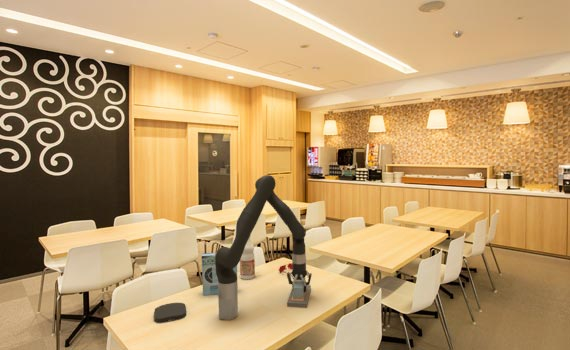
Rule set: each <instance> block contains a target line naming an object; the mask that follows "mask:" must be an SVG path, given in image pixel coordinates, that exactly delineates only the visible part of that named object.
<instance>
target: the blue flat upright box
mask: <svg viewBox="0 0 570 350" xmlns="http://www.w3.org/2000/svg"><path fill="white" fill-rule="evenodd" d="M216 253H217V252H210V253H207V252H205V253H203V252H202V253H201V273H202V274H201V275H202V276H201V277H202V278H201V279H202V296H210V295H211V296H212V295H218V278H217V275H216V266H215V256H216ZM233 270H234V271H235V273H236V274H237V275H238V265H237V266H236V267H235V268H233ZM238 284H239V283H238V282H237V294H238V292H239V291H238V290H239V289H238V288H239V287H238V286H239V285H238Z"/></svg>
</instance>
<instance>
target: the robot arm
mask: <svg viewBox="0 0 570 350" xmlns="http://www.w3.org/2000/svg"><path fill="white" fill-rule="evenodd" d="M276 182H277V181H276V179H275V177H274V176H272V175H271V174H266V175H263V176H261V177H259V178H258V179H257V180H256V181H255V184H254V186H255V192H254V194H253V196H252V198H250V200H249V201H248V202H247V204H246V205H245V207H243V209H242V211H241V213H240V215H239V216H238V219H237V220H236V228H235V236H234V237H235V238H234V240H233V242H232V244H231V246H230V247H227V246H221V247H220V248H218V249H217V251H216V252H215V253H216V256H215V266H216V275H217V278H218V294H217V296H218V297H217V298H218V299H217V300H218V320H225V321H226V320H228V321H231V320H232V319H233V320H234V319H235V318H237V316H238V315H239V306H238V301H239V299H238V293H237V283H238V273H237V274H236V273H235V271H234V270H233V268H235V267H236V266H237V267H238V265H239V264H240V259H241V256H242V254H243V251H244V248H245V246H246V243H247V241H248V239H249V237H250V235H251V236H252V232H253V230H254V228H255V226H256V225H257V223H258V221H259V218H260V217H261V215H262V213H263V210H264V207H265V205H266V203H268V204H269V206H271V207H272V208H273V210H274V211H275V212H276V213H277V214H278V217H280V219H281V220H282V222H283V223H284V224H285V225H286V226H287V228H288V229H289V231H290V233H291V237H292V239H291V240H292V254H291V255H292V256H291V257H292V259H291V262H292V270H291V271H290V272H289V271H288V272H286V276H287V277H286V278H287V281H288V284H289V285H292V287H291V291H292V290H293V286H294V283H295V282H296V280H302V282H303V284H304V293H305V292H306V290H307V289H306V286H307V285H311V284H310V283H311V281H312V280H311V279H312V275H313V274H312V273H309V272H307V271H306V270H307V256H306V244H305V237H306V234H307V231H306V228H305V227H304V226H303V225H302V223H301V222H300V221H299V220H298V218H297V216H296V215H295V214H294V212H293V210H292V209H291V208H290V206H288V205H287V203H286V202H284V201H283V200H282V199H281V198H280V197H279V196H278V195H277V194H276V193H275V188H276V185H277V184H276ZM250 238H251V237H250ZM291 275H292V276H293V277H292V276H291ZM306 276H307V278H308V279H307V281H306ZM292 278H294V279H293V280H292Z"/></svg>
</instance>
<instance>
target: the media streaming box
mask: <svg viewBox="0 0 570 350" xmlns="http://www.w3.org/2000/svg"><path fill="white" fill-rule="evenodd" d="M153 313H154V322H156V323H159V324H161V323H163V324H164V323H167V322H175V321H177V320H182V319H185V317H187V306H186V304H185V303H183V302H171V303H165V304H161V305H159V306H157V307H155V308H154V312H153Z"/></svg>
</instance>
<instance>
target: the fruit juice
mask: <svg viewBox="0 0 570 350" xmlns="http://www.w3.org/2000/svg"><path fill="white" fill-rule="evenodd" d="M251 236H252V234H251V235H250V237H249V239H248V241H247V243H246V246H245V248H244V251H243V254H242V256H241V259H240V261H239V276H240V279H241V278H242V279H241V280H247V279H248V280H252V279H254V278H255V277H256V276H255V275H256V270H255V269H256V268H255V266H256V265H255V264H256V263H255V262H256V261H255V253H254V249H255V246H254V244H253V243H252V241H251ZM248 280H247V281H248Z"/></svg>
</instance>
